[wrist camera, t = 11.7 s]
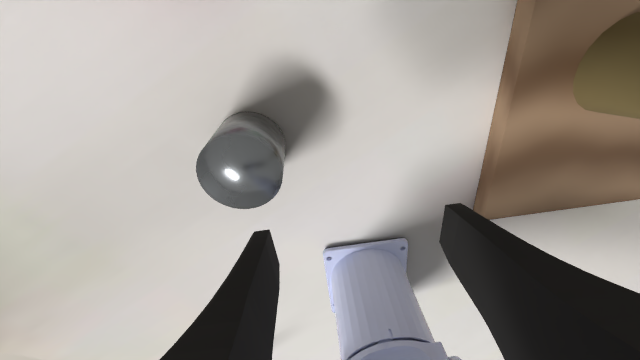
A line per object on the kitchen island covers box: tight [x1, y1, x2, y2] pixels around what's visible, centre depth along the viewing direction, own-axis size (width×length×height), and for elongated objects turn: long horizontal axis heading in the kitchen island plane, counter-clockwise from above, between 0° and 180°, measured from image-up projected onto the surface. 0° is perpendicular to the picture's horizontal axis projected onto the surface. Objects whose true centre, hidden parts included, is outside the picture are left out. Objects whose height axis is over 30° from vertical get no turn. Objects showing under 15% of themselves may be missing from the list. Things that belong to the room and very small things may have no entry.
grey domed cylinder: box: [196, 112, 286, 209], centre depth 18 cm, size 5×5×4 cm
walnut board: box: [473, 0, 640, 220], centre depth 18 cm, size 22×14×2 cm, turn 7°
